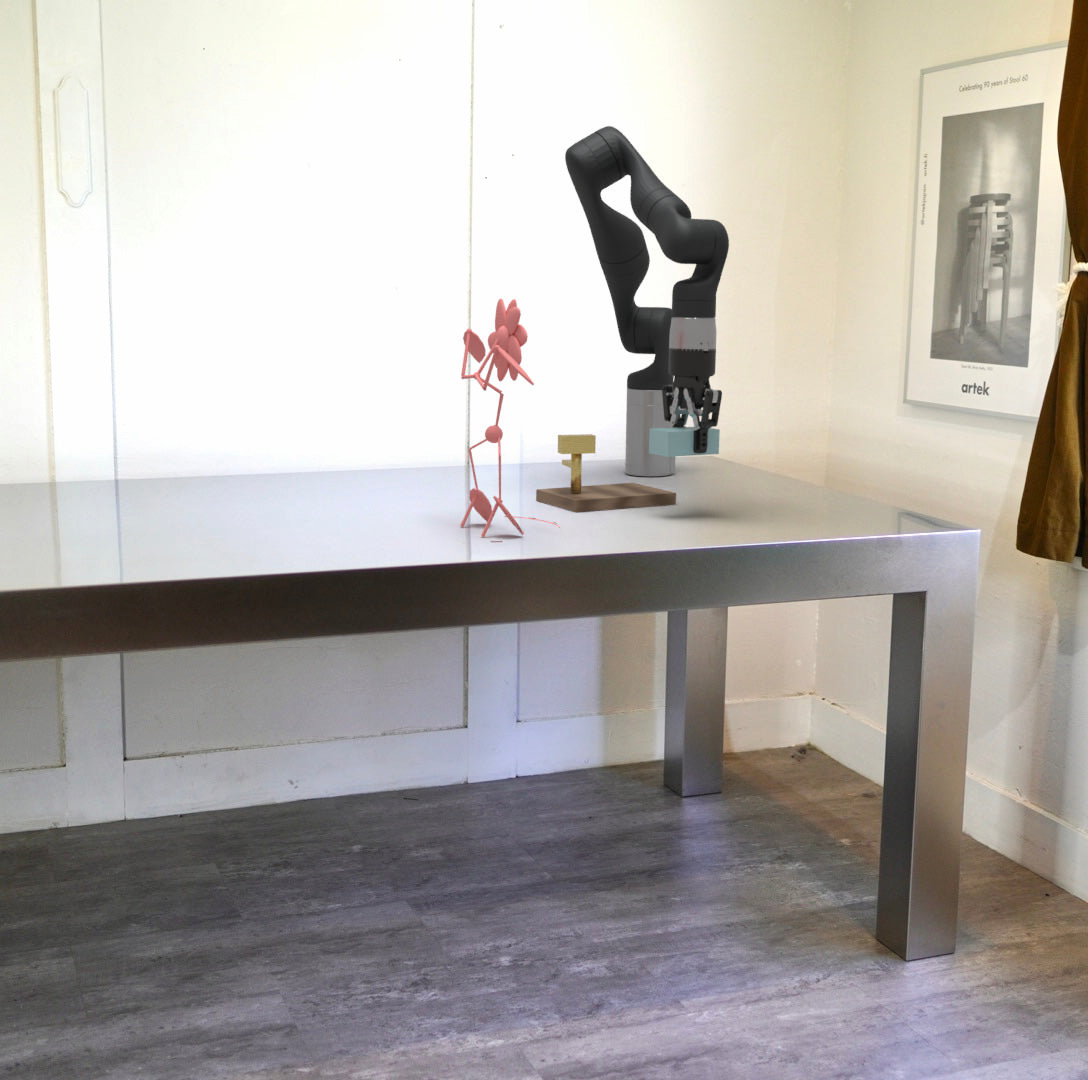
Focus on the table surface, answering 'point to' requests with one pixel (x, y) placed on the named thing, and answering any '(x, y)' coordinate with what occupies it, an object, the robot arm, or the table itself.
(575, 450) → the t key
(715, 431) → the cover
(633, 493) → the base
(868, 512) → the table surface
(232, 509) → the table surface
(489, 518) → the pink stick flower
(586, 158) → the robot arm
